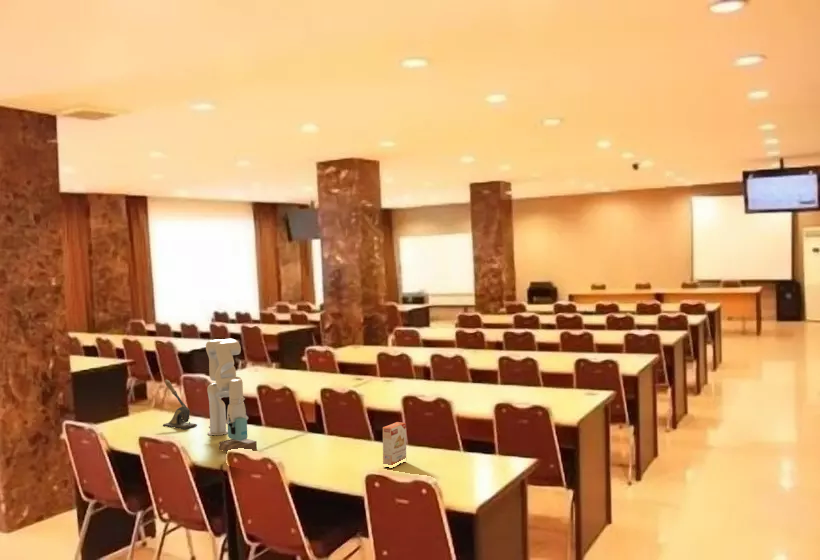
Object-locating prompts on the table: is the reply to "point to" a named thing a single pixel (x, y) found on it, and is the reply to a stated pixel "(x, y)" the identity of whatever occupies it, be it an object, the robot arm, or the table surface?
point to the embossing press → (179, 412)
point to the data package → (239, 429)
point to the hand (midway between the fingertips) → (237, 432)
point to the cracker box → (394, 443)
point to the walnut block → (237, 444)
